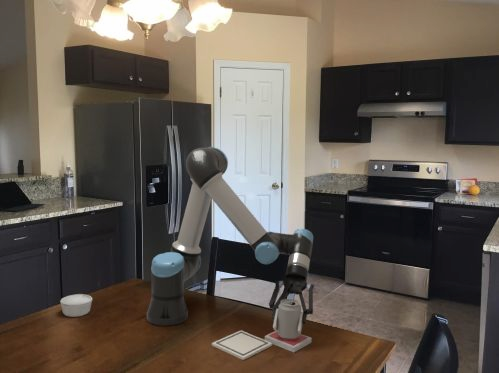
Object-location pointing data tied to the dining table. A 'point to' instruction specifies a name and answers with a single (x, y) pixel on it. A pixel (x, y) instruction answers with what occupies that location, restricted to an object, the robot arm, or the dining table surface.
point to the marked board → (242, 344)
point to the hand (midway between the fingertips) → (286, 330)
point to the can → (288, 319)
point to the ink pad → (288, 341)
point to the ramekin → (76, 305)
